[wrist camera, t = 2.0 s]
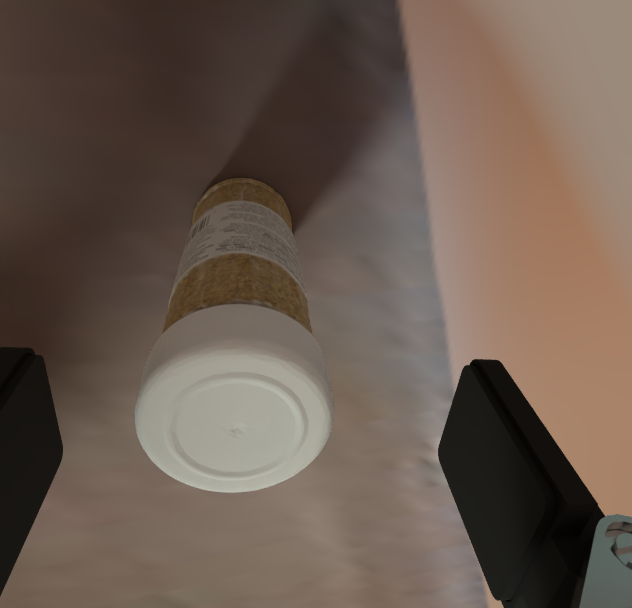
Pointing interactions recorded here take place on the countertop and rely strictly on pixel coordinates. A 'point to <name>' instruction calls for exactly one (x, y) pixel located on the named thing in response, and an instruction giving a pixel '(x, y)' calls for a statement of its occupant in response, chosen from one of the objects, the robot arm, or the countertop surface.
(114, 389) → the countertop surface
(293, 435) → the sprinkles bottle
